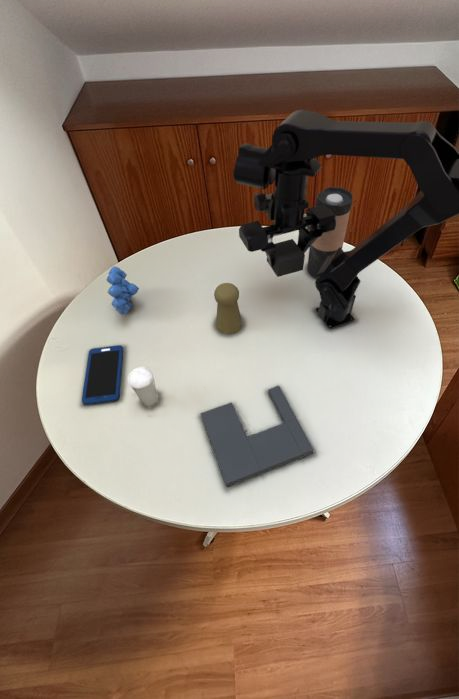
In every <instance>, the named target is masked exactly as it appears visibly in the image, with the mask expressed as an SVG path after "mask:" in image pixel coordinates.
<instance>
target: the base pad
mask: <svg viewBox="0 0 459 699" xmlns="http://www.w3.org/2000/svg"><path fill="white" fill-rule="evenodd" d="M267 394H268V395H269V398H270V399H271V402H272V403H273V405H274V407H275V410H276V411H277V413H278V416H279V417H280V419H281V421H282V423H281V424H278V425H275V426H273V427H269V428H267V429H265V430H262V431H259V432H256V433H253V434H250V435H249V436H247V435H246V432H245V431H244V428H243V425H242V423H241V421H240V419H239V416H238V414H237V412H236V409H235V407H234V405H233V402H229V403H226V404H223V405H220V406H217V407H214V408H211V409H209V410H206V411H203V412H200V417H201V420H202V422H203V425H204V428H205V431H206V433H207V436H208V439H209V442H210V444H211V448H212V450H213V453H214V457H215V459H216V461H217V465H218V467H219V469H220V470H219V471H220V472H221V475H222V478H223V481H224V484H225V487H227V488H228V487H230V486H233V485H236V484H238V483H241V482H243V481H246V480H249V479H250V478H253V477H256V476H258V475H261V474H263V473H265V472H268V471H271V470H273V469H275V468H279V467H282V466H284V465H286V464H288V463H292V462H293V461H297V460H299V459H301V458H303V457H307V456H308V455H311V454H313V453H314V447H313V446H312V444H311V442H310V440H309V438H308V436H307V435H306V433H305V431H304V429H303V427H302V425H301V424H300V421H299V420H298V418H297V416H296V415H295V412H294V411H293V409H292V406H291V405H290V403H289V401H288V400H287V398H286V396H285V394H284V393H283V391H282V388H281V387H280V385H276V386H274V387H271V388H268V392H267Z"/></svg>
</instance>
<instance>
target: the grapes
mask: <svg viewBox="0 0 459 699" xmlns="http://www.w3.org/2000/svg"><path fill="white" fill-rule="evenodd" d="M127 275H128V274H127V273H126V272H125V271H124V270H122V269H121V267H118V266H112V267H111V268H110V270H109V272H108V276H107V278H106V282H108V283H109V284H110V285H111V286H109V288H108V290H107V294H108V295H110V296H111V297H112V298H113V299H112V301H111V303H110V305H111V306H112V307H113V308H114V309H115V311H117V313H119V314H120V315H123V316H124V315H127V313H129V311H130V310H131V309H132V307H133V304H132V302H130V301H131V299H132V297H133V296H135V295H136V294H137V293H138V292H139V290H140V288H139V286H137V285H136V284H135V283H133V282H130V281H129V280H127V279H126V277H127Z"/></svg>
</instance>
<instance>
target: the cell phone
mask: <svg viewBox="0 0 459 699" xmlns="http://www.w3.org/2000/svg"><path fill="white" fill-rule="evenodd" d="M123 358H124V347H123V346H122V344H121V345H111V346H103V347H95V348H91V349H89V351H88V355H87V362H86V368H85V376H84V382H83V389H82V396H81V403H82V404H83V405H95V404H103V403H110V402H116V401H118V400H119V399H120V394H121V383H122V382H121V381H122V372H123V370H122V369H123Z"/></svg>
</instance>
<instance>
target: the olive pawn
mask: <svg viewBox="0 0 459 699" xmlns="http://www.w3.org/2000/svg"><path fill="white" fill-rule="evenodd" d="M213 292H214V293H213V298H214V301H215V302H216V304H217V305H216V317H215V320H216V321H215V328H216V330H217V331H218V332H219V333H221V334H223V335H232V334H236V333H238V332H239V331H240V330H242V327H243V319H242V315H241V312H240V308H239V303H238V301H239V298H240V291H239V289H238V287H237V286H236V285H235V284H234V283H231V282H223V283H220V284H219V285H217V286H216V288H215V289H214V291H213Z"/></svg>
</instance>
